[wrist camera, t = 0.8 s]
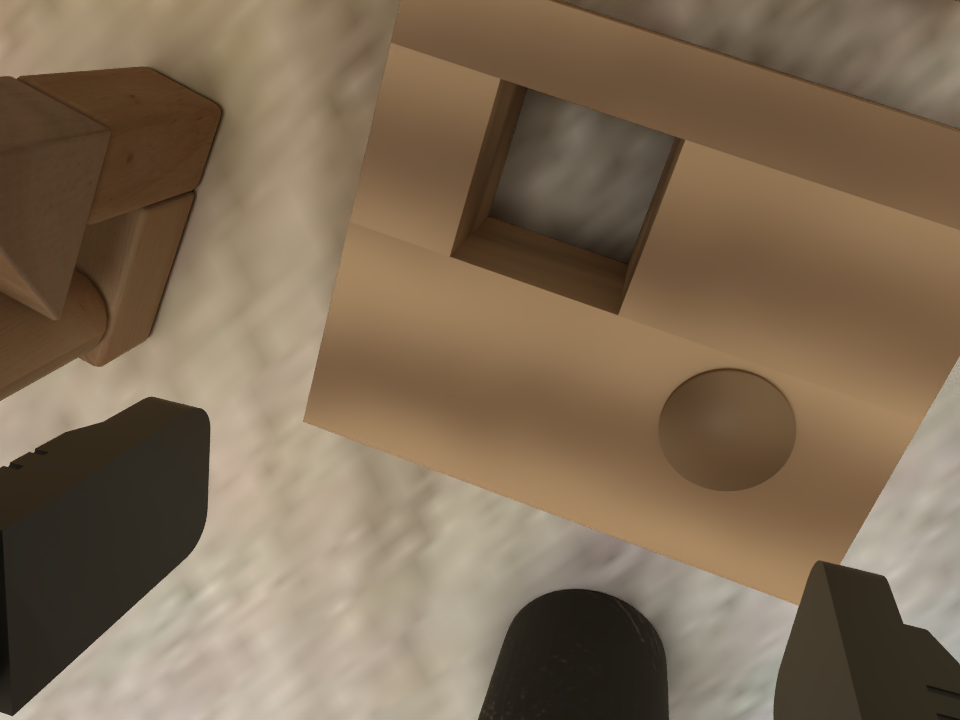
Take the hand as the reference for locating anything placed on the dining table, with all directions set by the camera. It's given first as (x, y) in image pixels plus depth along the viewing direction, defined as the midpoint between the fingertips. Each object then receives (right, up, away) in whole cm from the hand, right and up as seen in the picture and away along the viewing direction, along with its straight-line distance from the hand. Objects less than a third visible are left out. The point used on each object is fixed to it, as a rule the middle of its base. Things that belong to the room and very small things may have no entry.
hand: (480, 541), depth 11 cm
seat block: (+6, +6, +20) cm, 22 cm away
